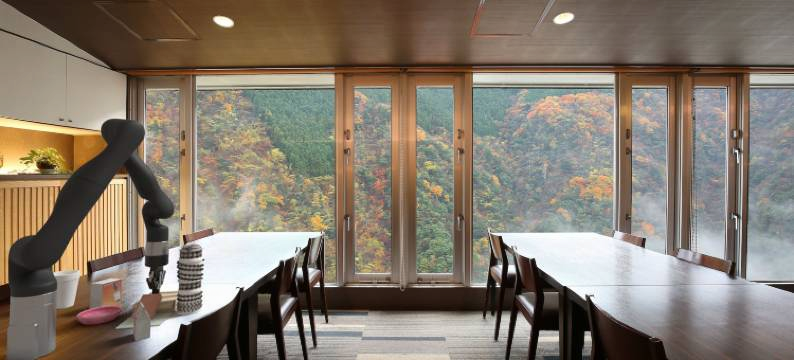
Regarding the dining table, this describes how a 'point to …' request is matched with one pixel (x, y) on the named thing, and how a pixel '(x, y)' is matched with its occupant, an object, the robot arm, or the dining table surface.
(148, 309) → the salmon pink brick
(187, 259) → the decorative candle
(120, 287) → the small box
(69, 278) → the foam cup
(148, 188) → the robot arm
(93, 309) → the saucer
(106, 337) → the dining table surface
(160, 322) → the mat
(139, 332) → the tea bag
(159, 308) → the panel
